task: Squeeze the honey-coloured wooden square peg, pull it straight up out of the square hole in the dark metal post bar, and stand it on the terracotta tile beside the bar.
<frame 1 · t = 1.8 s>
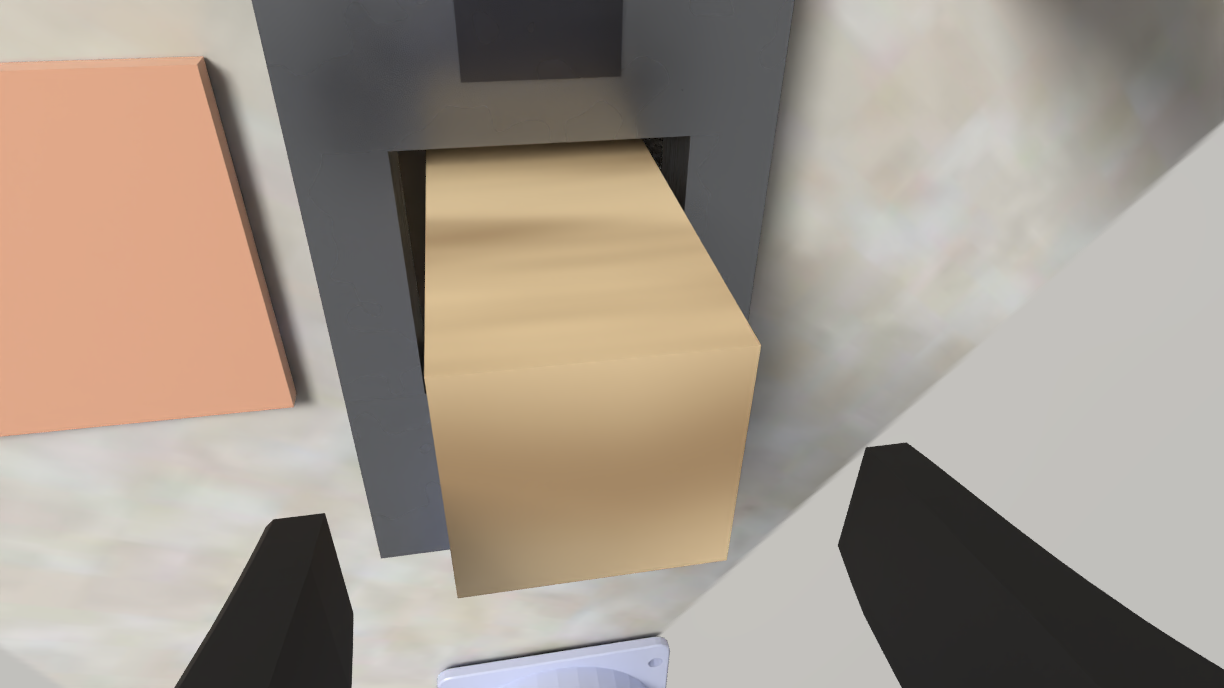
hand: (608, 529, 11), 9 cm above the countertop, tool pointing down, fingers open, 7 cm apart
wooden peg: (537, 228, 18), resting in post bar
tile: (50, 262, 16), on the countertop
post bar: (537, 229, 18), on the countertop
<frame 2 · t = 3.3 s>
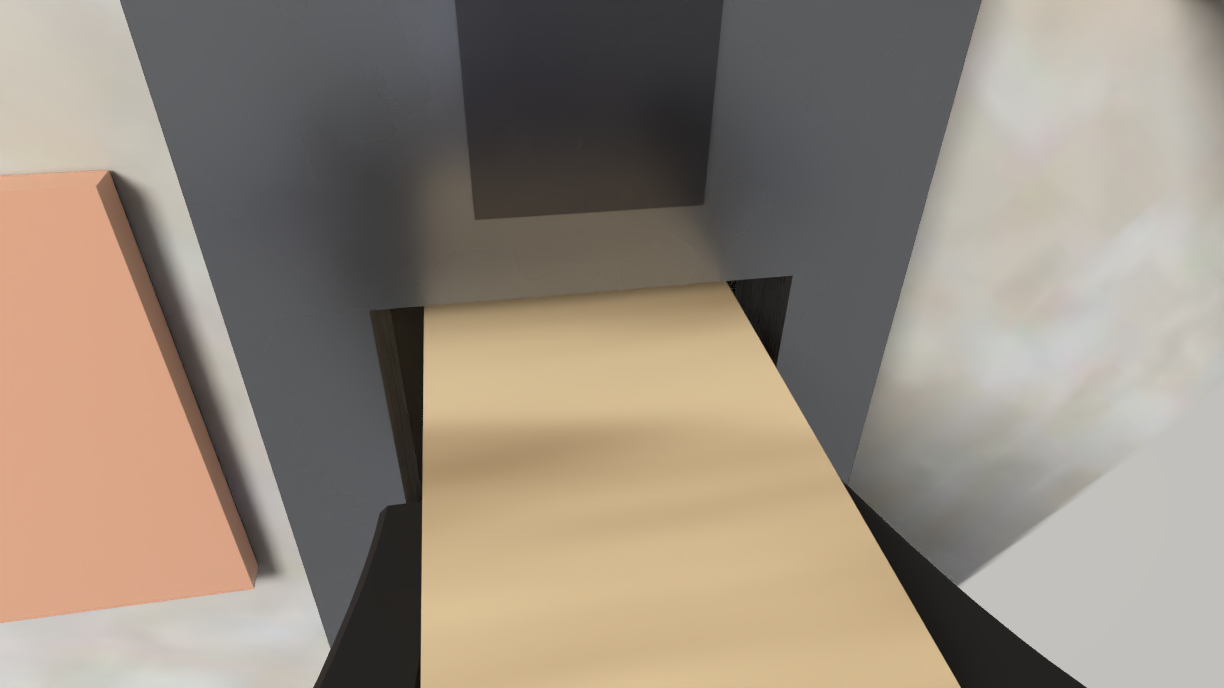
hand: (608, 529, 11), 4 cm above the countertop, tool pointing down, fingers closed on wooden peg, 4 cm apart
wooden peg: (570, 367, 14), resting in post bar, touching gripper
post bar: (570, 369, 14), on the countertop
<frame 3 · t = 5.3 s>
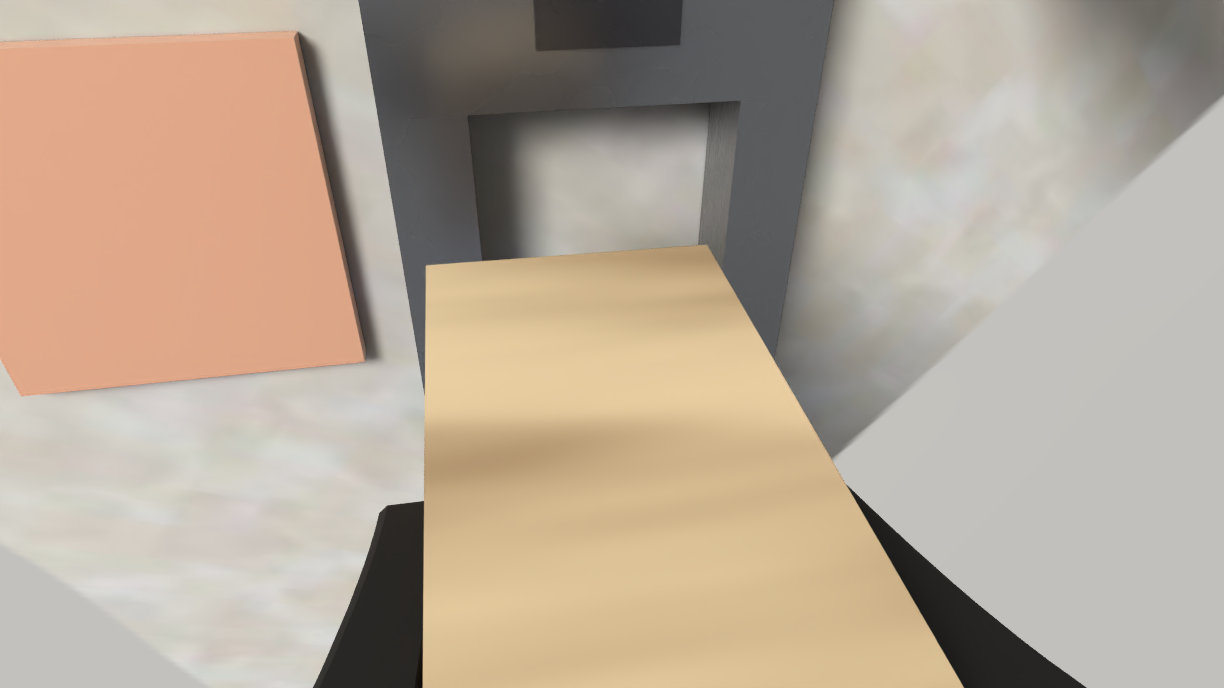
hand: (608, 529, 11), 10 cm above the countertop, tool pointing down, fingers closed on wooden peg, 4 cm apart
wooden peg: (571, 366, 14), point 7 cm above the countertop, touching gripper
tile: (150, 224, 18), on the countertop
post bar: (592, 193, 19), on the countertop
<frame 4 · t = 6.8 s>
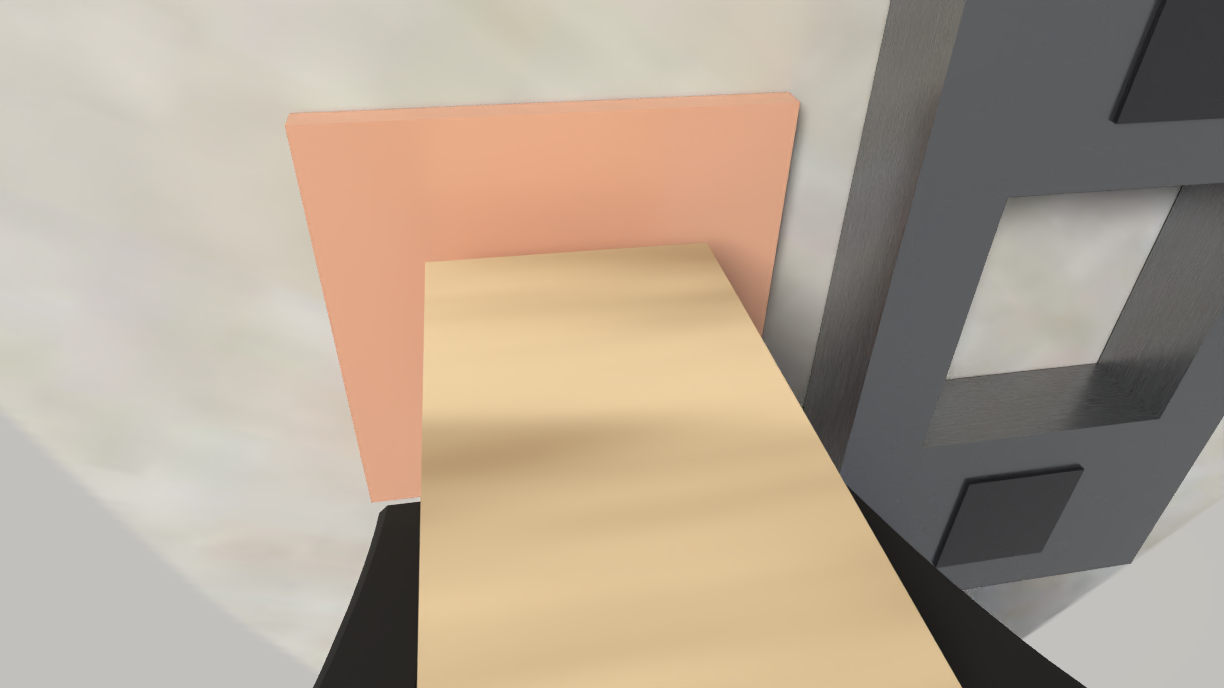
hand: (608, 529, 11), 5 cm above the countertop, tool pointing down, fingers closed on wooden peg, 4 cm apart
wooden peg: (571, 364, 14), point 2 cm above the countertop, touching gripper
tile: (557, 310, 15), on the countertop
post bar: (1030, 270, 17), on the countertop
when the fingers open (5 cm above the countertop, at t = 7.6 s): wooden peg drops 1 cm, resting on tile.
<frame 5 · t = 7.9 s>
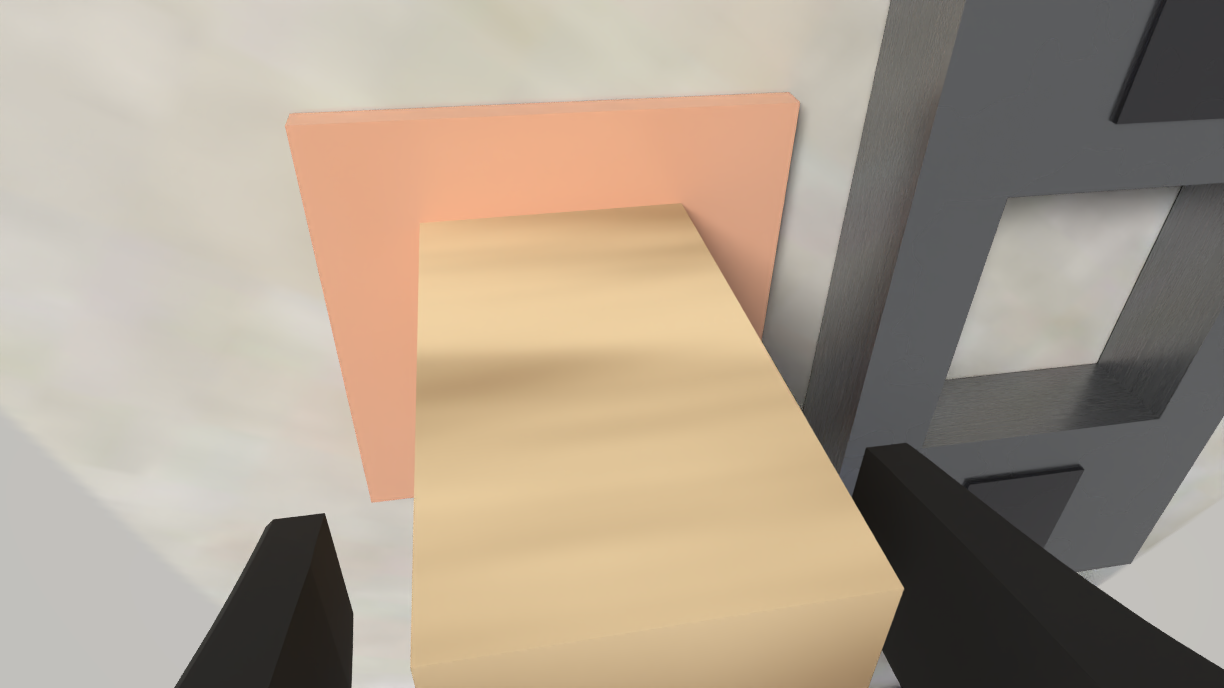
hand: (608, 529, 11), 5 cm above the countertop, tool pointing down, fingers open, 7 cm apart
wooden peg: (558, 321, 14), resting on tile
tile: (557, 311, 15), on the countertop
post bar: (1030, 270, 17), on the countertop
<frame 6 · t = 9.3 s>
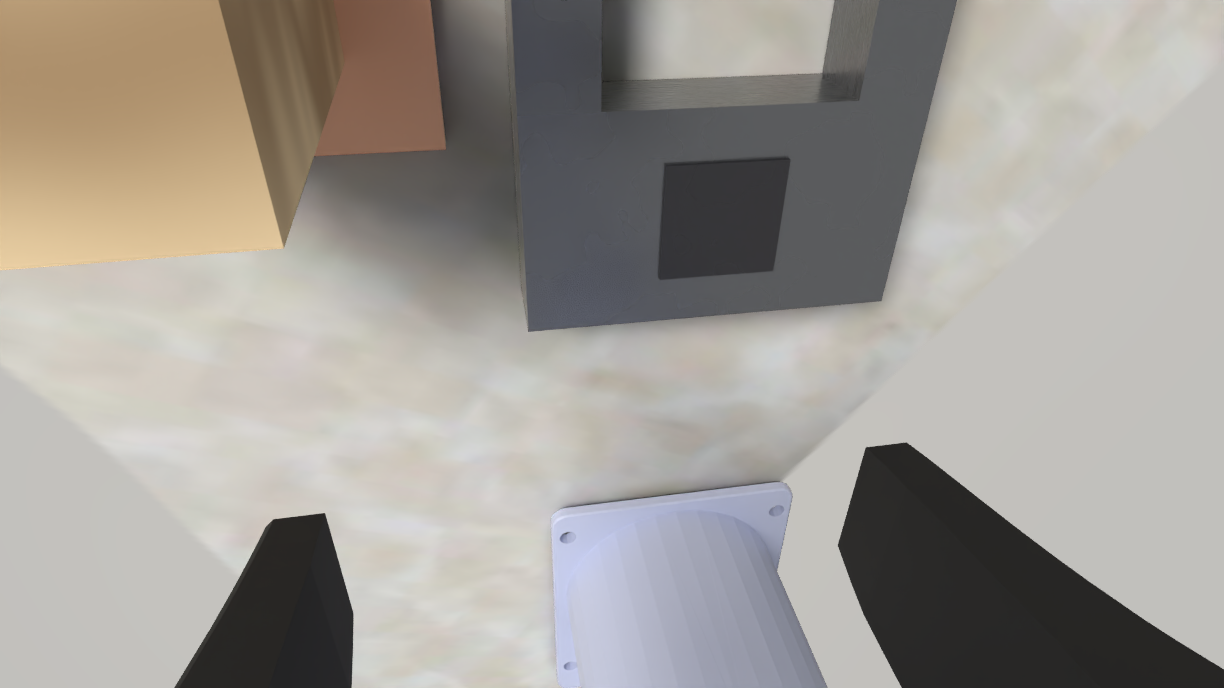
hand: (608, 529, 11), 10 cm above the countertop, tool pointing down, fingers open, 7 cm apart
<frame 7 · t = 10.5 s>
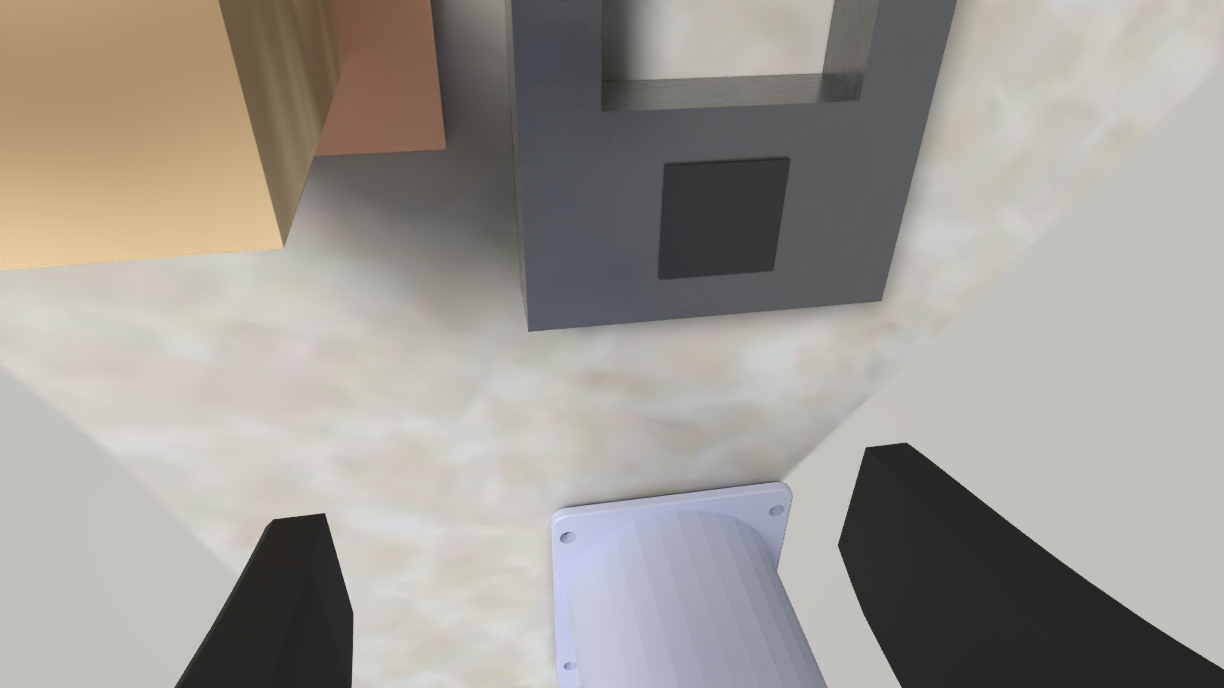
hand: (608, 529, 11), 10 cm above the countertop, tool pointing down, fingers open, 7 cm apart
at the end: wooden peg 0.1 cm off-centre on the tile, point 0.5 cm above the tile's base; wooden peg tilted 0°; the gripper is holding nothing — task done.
